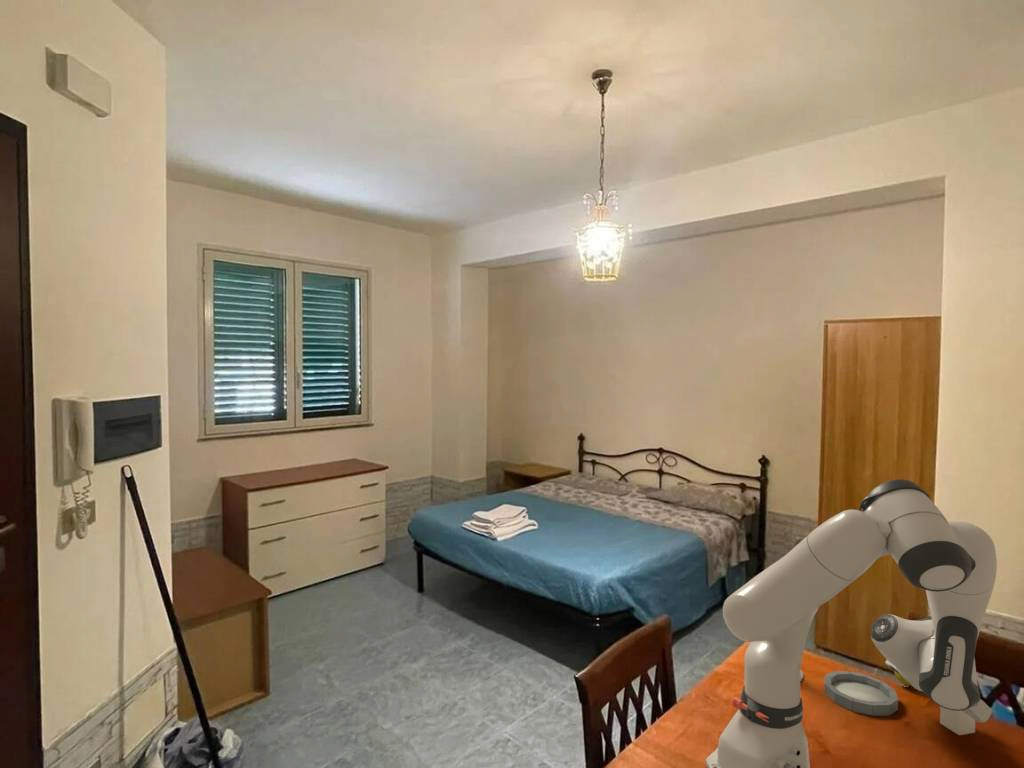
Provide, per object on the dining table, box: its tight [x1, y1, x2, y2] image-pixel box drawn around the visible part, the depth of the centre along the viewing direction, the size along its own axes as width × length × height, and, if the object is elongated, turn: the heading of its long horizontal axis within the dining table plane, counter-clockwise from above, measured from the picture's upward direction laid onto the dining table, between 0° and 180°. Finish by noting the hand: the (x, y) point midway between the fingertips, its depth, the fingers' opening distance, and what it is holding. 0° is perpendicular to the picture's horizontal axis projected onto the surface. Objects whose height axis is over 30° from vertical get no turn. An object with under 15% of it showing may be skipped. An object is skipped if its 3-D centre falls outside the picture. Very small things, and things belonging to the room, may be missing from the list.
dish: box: [823, 670, 899, 717], centre depth 146 cm, size 16×16×3 cm
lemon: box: [893, 670, 912, 687], centre depth 151 cm, size 6×6×8 cm
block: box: [939, 706, 976, 736], centre depth 133 cm, size 5×5×8 cm
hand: (958, 706), depth 133 cm, fingers open, 8 cm apart
